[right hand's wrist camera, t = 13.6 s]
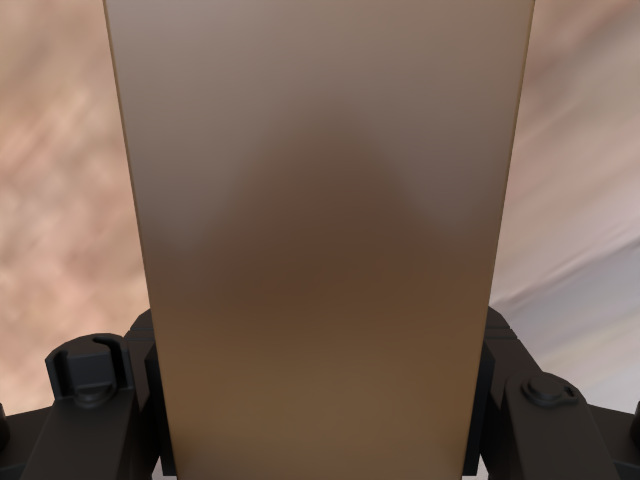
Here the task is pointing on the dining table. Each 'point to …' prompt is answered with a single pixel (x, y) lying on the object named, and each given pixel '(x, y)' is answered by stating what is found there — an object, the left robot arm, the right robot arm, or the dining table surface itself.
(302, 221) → the bar
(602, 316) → the dining table surface
